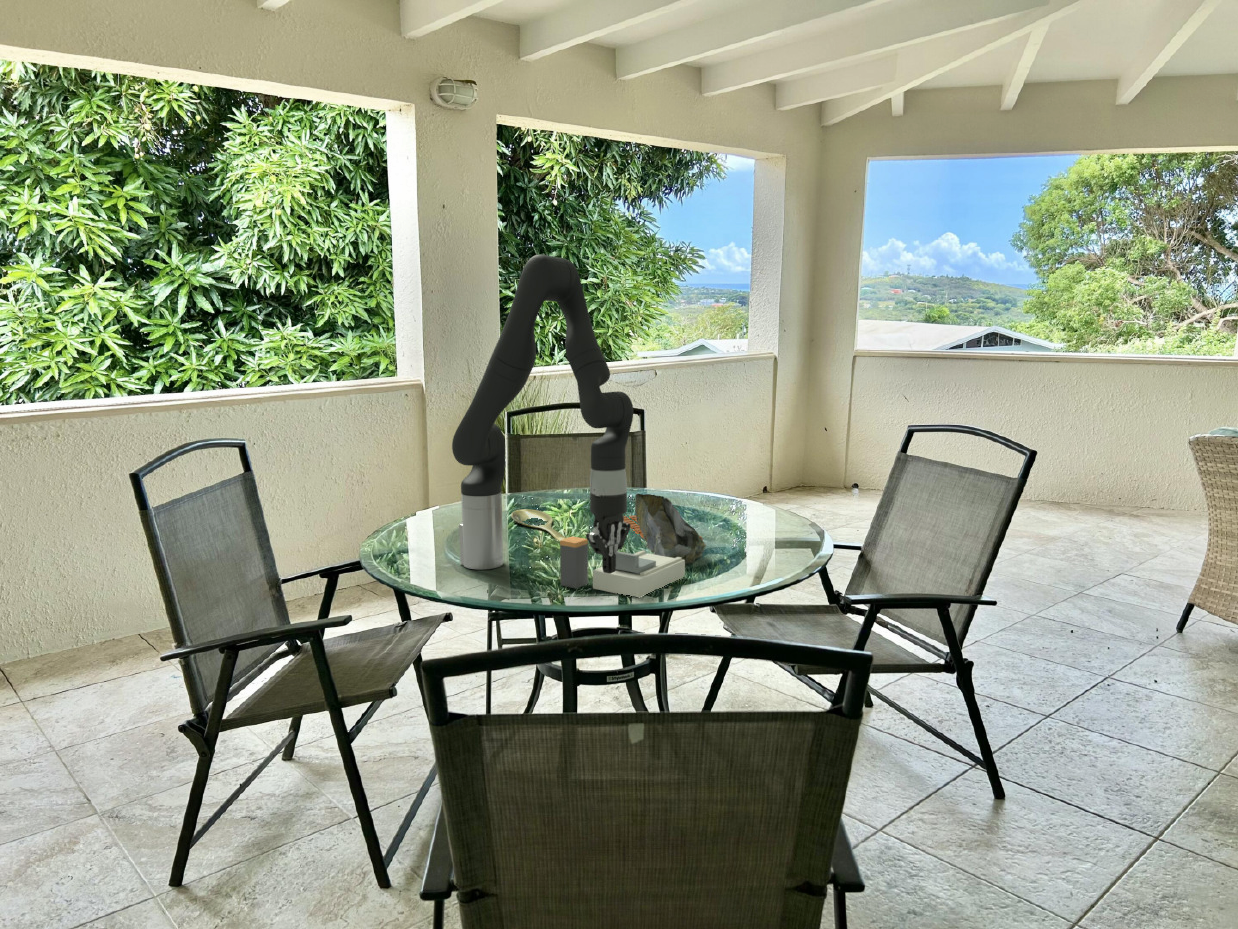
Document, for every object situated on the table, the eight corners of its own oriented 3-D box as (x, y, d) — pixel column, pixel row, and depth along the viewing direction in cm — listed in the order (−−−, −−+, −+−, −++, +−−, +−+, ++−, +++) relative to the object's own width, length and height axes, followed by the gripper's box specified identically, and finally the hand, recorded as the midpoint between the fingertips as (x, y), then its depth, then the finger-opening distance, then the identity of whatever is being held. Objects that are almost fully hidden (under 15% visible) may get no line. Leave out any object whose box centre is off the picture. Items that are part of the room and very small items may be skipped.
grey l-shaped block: (607, 567, 195) (607, 551, 194) (625, 560, 200) (625, 544, 199) (638, 573, 190) (638, 557, 190) (655, 566, 195) (655, 550, 195)
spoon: (587, 548, 234) (587, 540, 234) (548, 553, 230) (548, 545, 229) (538, 513, 265) (538, 506, 265) (504, 516, 261) (504, 509, 260)
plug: (560, 585, 197) (560, 540, 195) (572, 580, 200) (572, 536, 198) (576, 588, 194) (575, 543, 193) (588, 583, 198) (587, 539, 196)
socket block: (592, 588, 194) (592, 568, 194) (639, 568, 209) (639, 549, 208) (639, 598, 188) (639, 577, 187) (684, 577, 202) (684, 557, 201)
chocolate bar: (661, 517, 264) (661, 512, 264) (703, 541, 236) (703, 536, 235) (614, 521, 259) (614, 516, 259) (651, 546, 231) (651, 541, 231)
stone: (698, 589, 212) (688, 533, 240) (710, 552, 209) (698, 499, 237) (627, 574, 211) (625, 520, 238) (638, 536, 207) (634, 485, 235)
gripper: (612, 483, 193) (613, 562, 196) (573, 493, 182) (575, 577, 185) (641, 486, 188) (642, 567, 191) (604, 497, 178) (605, 583, 181)
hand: (609, 572), depth 188 cm, fingers closed
